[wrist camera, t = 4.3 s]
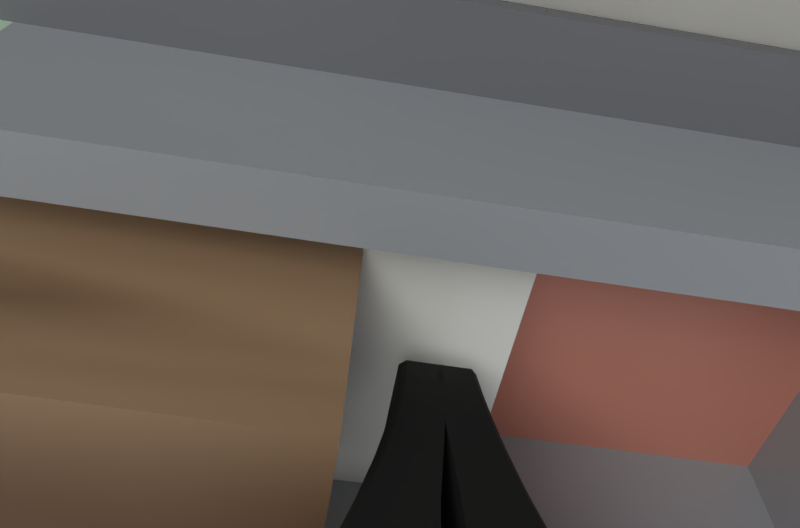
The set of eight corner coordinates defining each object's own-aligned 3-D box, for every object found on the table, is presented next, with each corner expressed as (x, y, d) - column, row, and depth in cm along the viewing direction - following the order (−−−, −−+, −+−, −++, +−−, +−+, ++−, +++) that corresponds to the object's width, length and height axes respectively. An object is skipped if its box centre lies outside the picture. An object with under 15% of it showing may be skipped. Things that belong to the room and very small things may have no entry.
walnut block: (330, 447, 15) (304, 648, 11) (24, 407, 14) (-94, 604, 11) (364, 244, 12) (339, 437, 9) (-20, 186, 11) (-198, 367, 8)
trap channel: (735, 512, 19) (795, 663, 16) (-560, 353, 17) (-781, 491, 14) (1032, 90, 12) (1239, 211, 9) (-1084, -268, 10) (-1756, -270, 7)
